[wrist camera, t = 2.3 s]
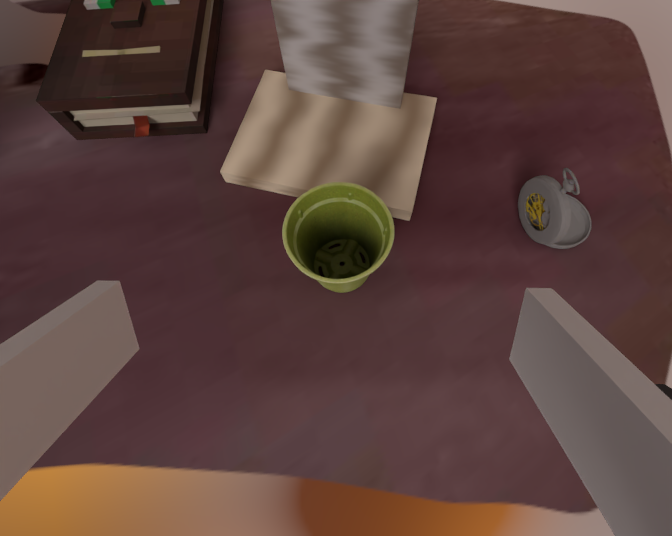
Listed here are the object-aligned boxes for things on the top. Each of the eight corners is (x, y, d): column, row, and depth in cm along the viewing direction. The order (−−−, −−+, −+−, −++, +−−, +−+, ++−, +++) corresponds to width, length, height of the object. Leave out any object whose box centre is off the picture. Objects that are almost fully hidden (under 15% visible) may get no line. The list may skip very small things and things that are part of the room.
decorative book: (12, 112, 38) (76, -60, 48) (65, 157, 45) (111, -1, 56) (190, 102, 37) (216, -69, 48) (215, 150, 44) (233, -9, 55)
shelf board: (225, 182, 42) (156, 61, 27) (268, 82, 47) (230, -65, 32) (409, 220, 39) (444, 110, 24) (433, 110, 45) (474, -37, 30)
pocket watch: (597, 220, 38) (676, 162, 29) (555, 275, 36) (626, 231, 27) (531, 178, 41) (584, 111, 31) (488, 227, 39) (531, 172, 29)
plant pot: (315, 323, 36) (304, 300, 28) (285, 244, 39) (267, 203, 31) (400, 288, 37) (413, 256, 28) (363, 214, 40) (366, 167, 32)
